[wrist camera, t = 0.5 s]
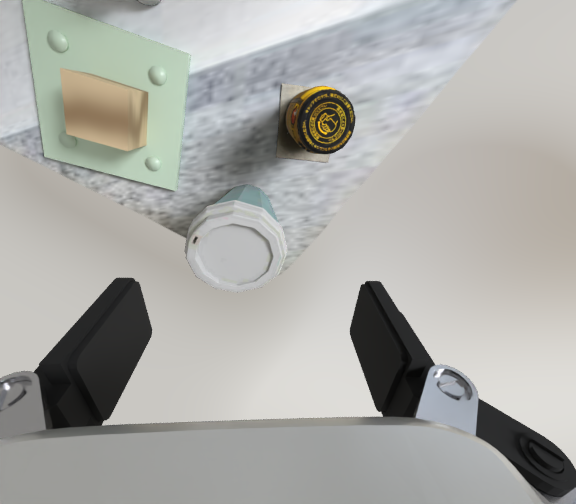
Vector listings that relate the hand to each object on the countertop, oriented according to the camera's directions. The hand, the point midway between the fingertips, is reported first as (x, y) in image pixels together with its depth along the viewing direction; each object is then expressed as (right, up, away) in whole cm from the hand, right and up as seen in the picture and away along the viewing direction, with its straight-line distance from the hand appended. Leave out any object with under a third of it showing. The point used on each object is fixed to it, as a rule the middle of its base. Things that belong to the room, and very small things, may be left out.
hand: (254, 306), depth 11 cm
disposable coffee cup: (-5, +9, +27) cm, 29 cm away
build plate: (-19, +20, +20) cm, 34 cm away
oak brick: (-18, +19, +20) cm, 33 cm away
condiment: (+4, +19, +23) cm, 30 cm away
